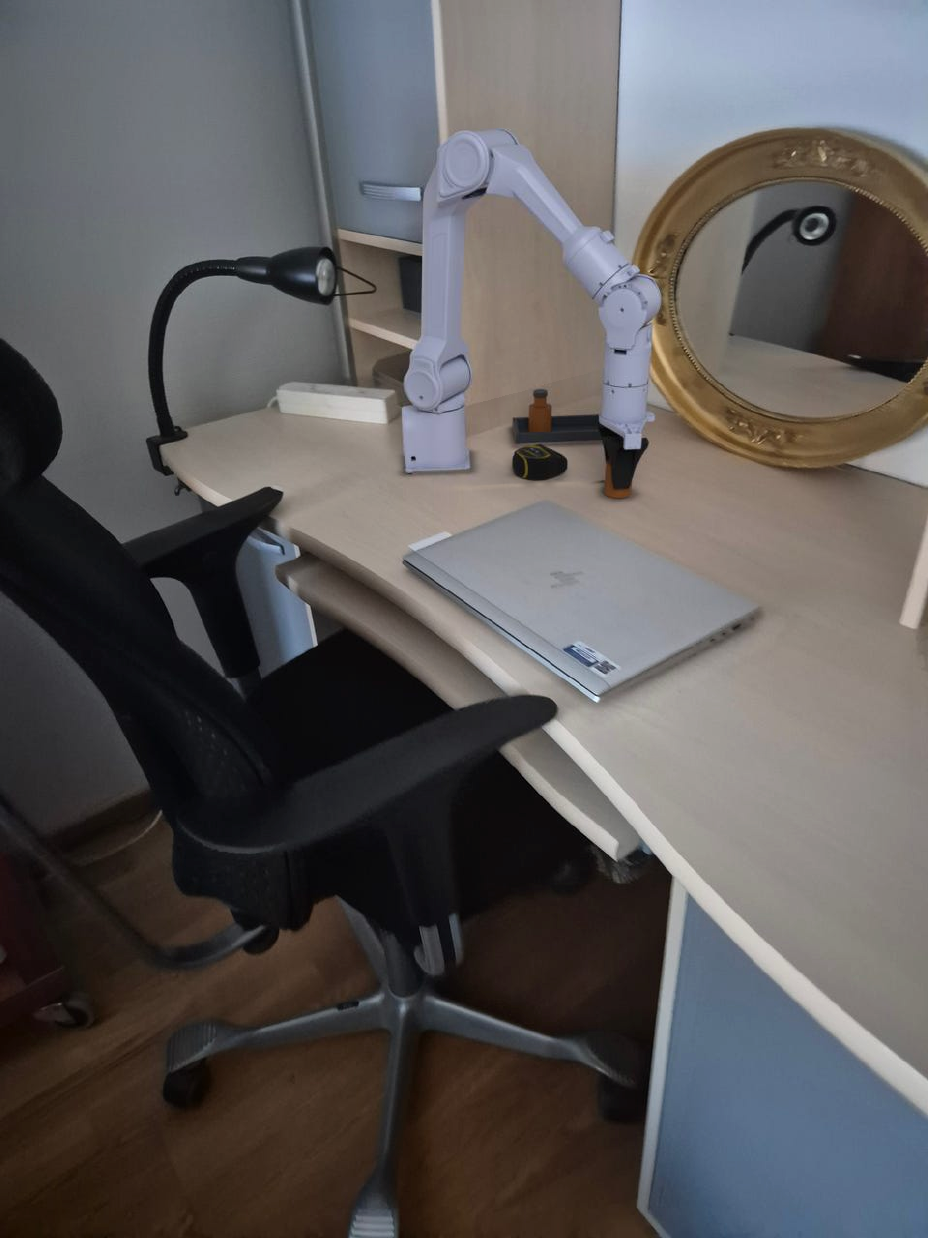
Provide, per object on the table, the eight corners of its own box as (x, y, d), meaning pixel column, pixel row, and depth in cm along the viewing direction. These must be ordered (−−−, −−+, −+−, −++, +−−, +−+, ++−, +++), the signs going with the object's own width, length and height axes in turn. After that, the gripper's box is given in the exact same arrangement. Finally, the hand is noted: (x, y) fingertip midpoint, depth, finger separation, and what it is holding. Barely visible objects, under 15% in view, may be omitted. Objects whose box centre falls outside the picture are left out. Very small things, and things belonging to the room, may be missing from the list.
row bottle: (529, 437, 129) (529, 394, 125) (527, 430, 132) (527, 387, 128) (552, 436, 129) (553, 393, 125) (549, 429, 132) (550, 387, 128)
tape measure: (569, 478, 115) (570, 453, 113) (528, 488, 112) (528, 463, 111) (543, 463, 120) (543, 439, 118) (503, 473, 118) (503, 448, 116)
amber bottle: (606, 498, 108) (609, 449, 105) (602, 488, 112) (605, 440, 108) (633, 497, 108) (637, 448, 105) (628, 487, 112) (632, 439, 108)
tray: (515, 446, 127) (515, 434, 126) (512, 429, 134) (512, 417, 133) (612, 442, 127) (613, 430, 126) (604, 425, 134) (605, 413, 133)
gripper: (670, 396, 96) (659, 502, 103) (645, 364, 108) (637, 461, 115) (610, 399, 96) (604, 504, 103) (592, 366, 108) (588, 463, 115)
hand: (618, 482), depth 109 cm, fingers closed on amber bottle, 3 cm apart
